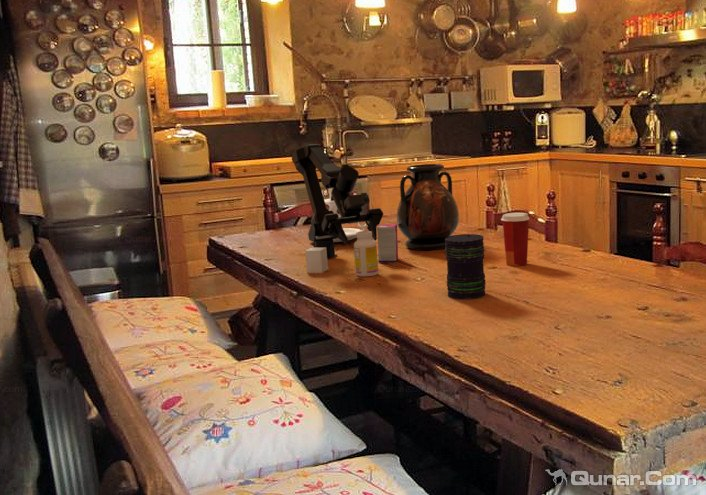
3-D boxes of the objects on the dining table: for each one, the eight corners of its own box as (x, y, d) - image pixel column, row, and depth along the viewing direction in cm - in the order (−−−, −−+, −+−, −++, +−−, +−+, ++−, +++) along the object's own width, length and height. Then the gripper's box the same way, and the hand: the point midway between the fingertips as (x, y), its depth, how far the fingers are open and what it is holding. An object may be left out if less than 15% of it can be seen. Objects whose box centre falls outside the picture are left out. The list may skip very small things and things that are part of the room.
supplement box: (396, 262, 242) (394, 226, 239) (378, 262, 243) (375, 227, 241) (399, 258, 247) (397, 223, 245) (381, 259, 248) (379, 224, 246)
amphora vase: (444, 238, 278) (440, 161, 273) (471, 247, 258) (468, 164, 253) (389, 245, 271) (384, 166, 266) (412, 255, 251) (408, 170, 246)
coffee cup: (533, 261, 229) (532, 212, 226) (527, 267, 222) (526, 216, 219) (505, 260, 233) (504, 212, 230) (499, 266, 225) (497, 216, 223)
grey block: (307, 272, 235) (305, 250, 234) (313, 269, 240) (311, 247, 238) (322, 273, 233) (320, 250, 232) (327, 269, 238) (326, 247, 237)
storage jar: (476, 301, 189) (474, 241, 186) (440, 298, 194) (438, 240, 191) (491, 291, 197) (489, 234, 194) (456, 288, 202) (454, 233, 200)
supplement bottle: (381, 272, 229) (378, 230, 226) (374, 277, 223) (371, 234, 220) (359, 272, 231) (357, 230, 229) (352, 277, 225) (349, 234, 222)
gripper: (321, 188, 225) (339, 228, 217) (378, 181, 233) (397, 221, 224) (314, 212, 234) (330, 252, 226) (369, 205, 241) (387, 243, 233)
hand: (361, 241), depth 227 cm, fingers open, 9 cm apart
